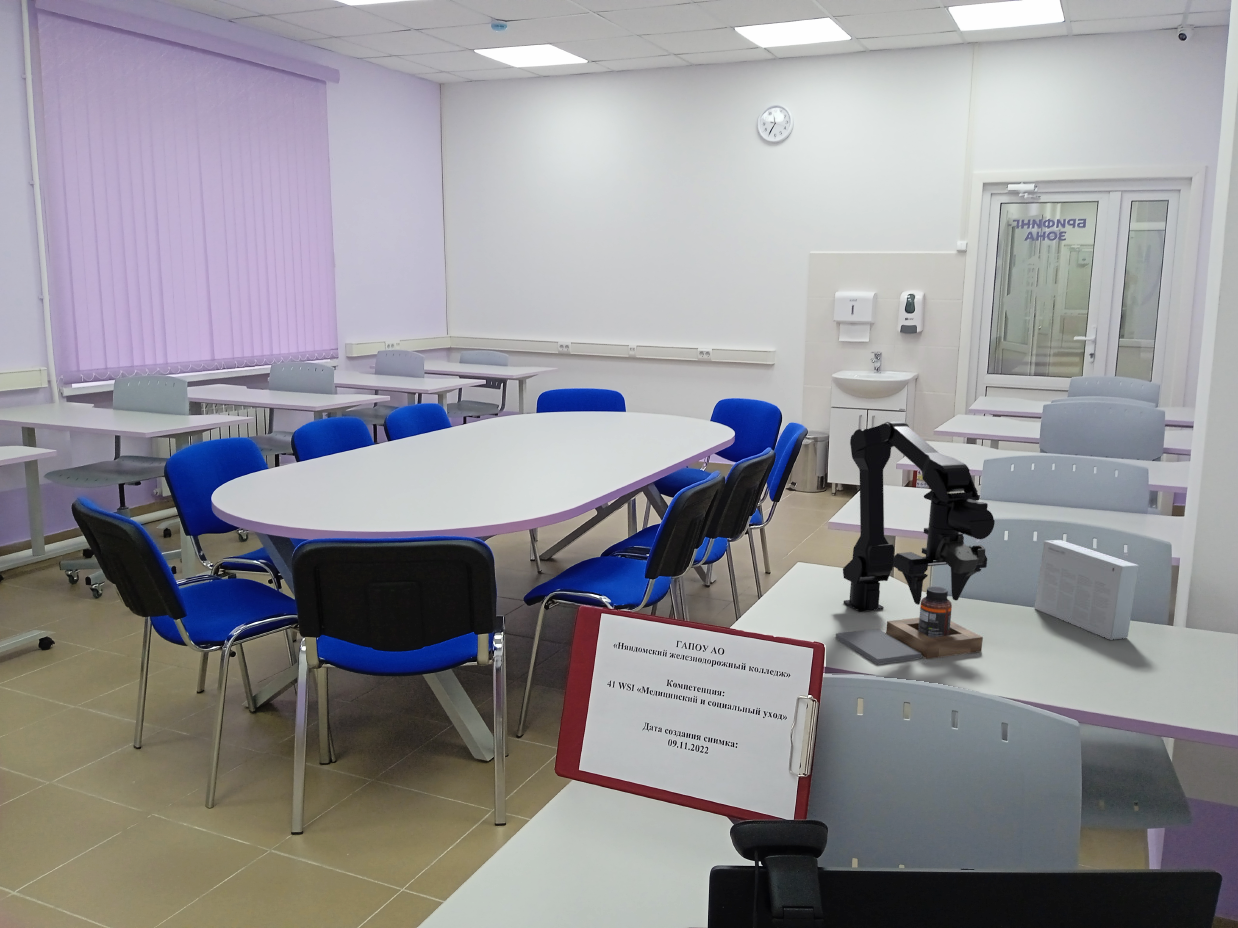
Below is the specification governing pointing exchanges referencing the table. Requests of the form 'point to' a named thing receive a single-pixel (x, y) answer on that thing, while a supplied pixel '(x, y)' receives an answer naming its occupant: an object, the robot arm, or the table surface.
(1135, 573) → the skincare box
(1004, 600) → the table surface
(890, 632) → the collar block
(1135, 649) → the table surface
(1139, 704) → the table surface
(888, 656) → the rubber mat
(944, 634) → the supplement bottle
